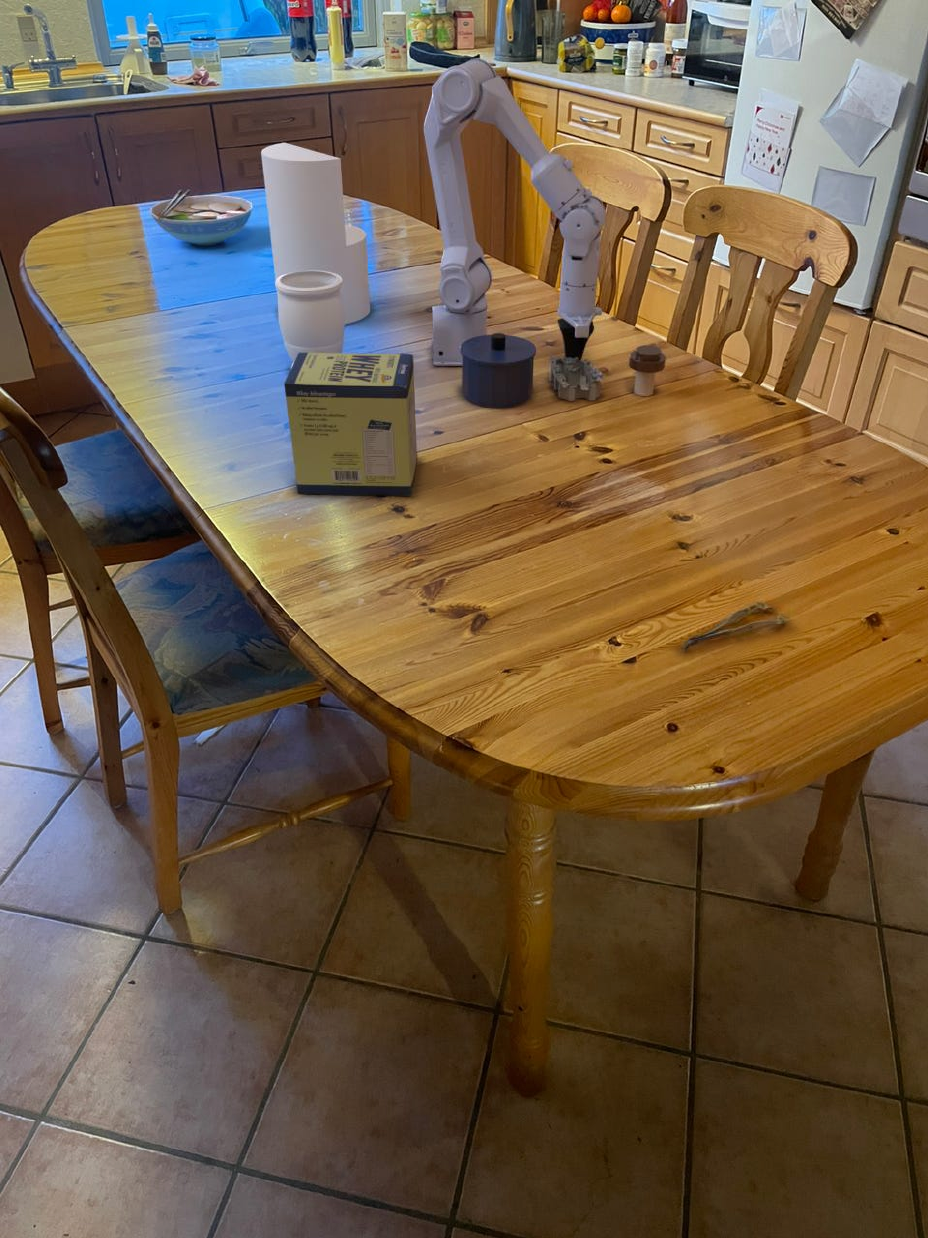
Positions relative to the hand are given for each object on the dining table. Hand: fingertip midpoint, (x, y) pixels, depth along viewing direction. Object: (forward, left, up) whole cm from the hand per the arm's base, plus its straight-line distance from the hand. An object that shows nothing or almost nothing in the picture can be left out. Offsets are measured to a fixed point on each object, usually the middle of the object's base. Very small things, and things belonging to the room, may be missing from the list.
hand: (572, 364), depth 157 cm
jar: (-43, +2, -2) cm, 43 cm away
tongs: (+8, -71, -2) cm, 72 cm away
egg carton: (-1, -6, -2) cm, 7 cm away
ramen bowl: (-75, +78, -2) cm, 108 cm away
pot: (-13, -8, -1) cm, 15 cm away
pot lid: (-13, -8, +6) cm, 16 cm away
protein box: (-34, -35, -2) cm, 49 cm away
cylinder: (-44, +31, -2) cm, 53 cm away
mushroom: (+10, -8, -1) cm, 13 cm away
